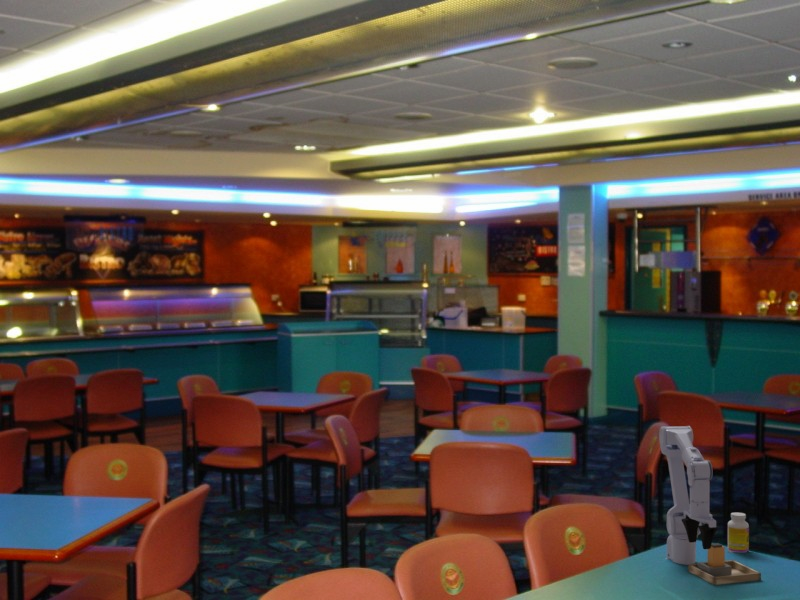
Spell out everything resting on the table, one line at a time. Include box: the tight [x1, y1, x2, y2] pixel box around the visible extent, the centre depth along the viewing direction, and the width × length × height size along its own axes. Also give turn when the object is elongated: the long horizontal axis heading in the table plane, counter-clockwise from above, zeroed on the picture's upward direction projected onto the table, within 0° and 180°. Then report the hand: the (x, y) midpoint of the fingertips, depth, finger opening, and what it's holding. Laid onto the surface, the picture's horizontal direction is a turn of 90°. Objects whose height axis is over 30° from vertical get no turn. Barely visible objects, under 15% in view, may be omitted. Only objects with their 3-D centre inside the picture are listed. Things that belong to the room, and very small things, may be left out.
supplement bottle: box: [727, 512, 750, 553], centre depth 332 cm, size 7×7×13 cm
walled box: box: [687, 559, 762, 586], centre depth 305 cm, size 14×16×3 cm
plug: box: [706, 542, 726, 567], centre depth 304 cm, size 3×4×8 cm
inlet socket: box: [697, 561, 732, 577], centre depth 304 cm, size 6×7×4 cm
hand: (699, 545), depth 304 cm, fingers open, 7 cm apart
